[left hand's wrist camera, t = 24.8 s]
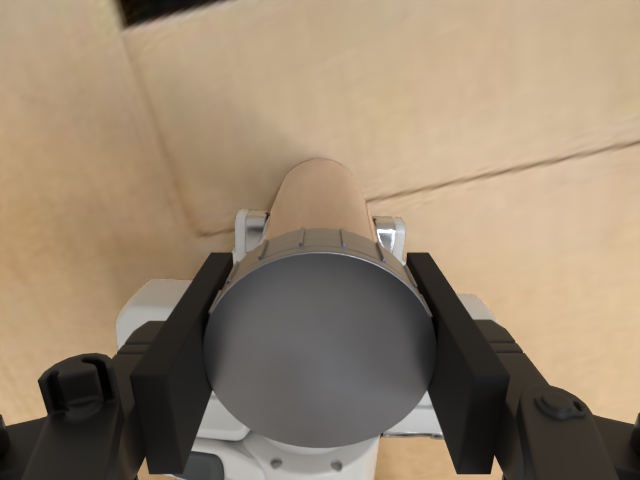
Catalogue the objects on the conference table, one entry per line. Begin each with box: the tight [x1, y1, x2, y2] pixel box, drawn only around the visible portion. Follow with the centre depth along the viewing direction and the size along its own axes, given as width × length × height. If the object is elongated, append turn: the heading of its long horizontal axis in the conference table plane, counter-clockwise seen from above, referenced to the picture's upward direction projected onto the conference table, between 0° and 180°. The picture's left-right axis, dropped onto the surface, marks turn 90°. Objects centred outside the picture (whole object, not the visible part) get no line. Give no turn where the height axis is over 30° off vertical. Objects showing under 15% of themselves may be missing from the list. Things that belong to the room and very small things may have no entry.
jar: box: [256, 159, 384, 247], centre depth 19 cm, size 5×5×16 cm
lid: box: [203, 227, 437, 448], centre depth 11 cm, size 6×6×2 cm
